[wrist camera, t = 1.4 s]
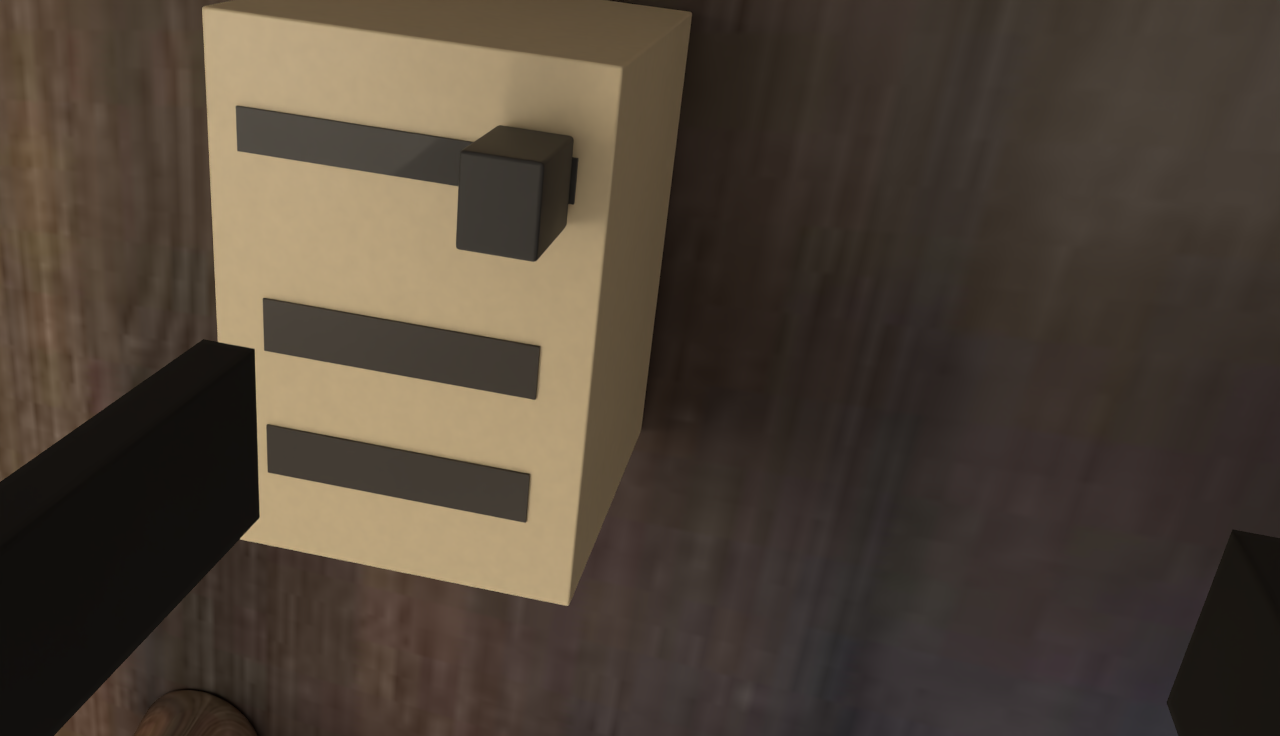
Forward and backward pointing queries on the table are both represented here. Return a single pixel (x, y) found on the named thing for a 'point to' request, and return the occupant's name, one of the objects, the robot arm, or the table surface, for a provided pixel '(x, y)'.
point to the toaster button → (513, 192)
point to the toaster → (439, 273)
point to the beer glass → (193, 716)
